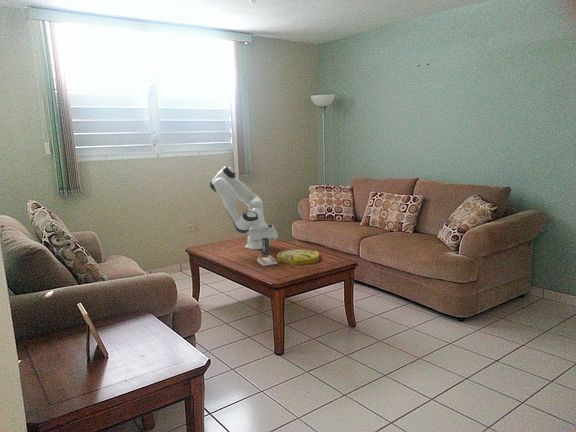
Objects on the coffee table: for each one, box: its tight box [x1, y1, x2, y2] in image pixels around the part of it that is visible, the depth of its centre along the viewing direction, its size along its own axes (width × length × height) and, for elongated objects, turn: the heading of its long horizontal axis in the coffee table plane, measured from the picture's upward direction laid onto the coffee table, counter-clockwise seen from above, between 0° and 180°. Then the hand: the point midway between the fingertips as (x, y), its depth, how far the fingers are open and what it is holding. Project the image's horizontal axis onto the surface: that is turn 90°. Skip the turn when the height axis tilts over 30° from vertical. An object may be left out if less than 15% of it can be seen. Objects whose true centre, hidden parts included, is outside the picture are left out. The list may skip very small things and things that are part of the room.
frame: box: [261, 238, 271, 257], centre depth 299 cm, size 6×4×11 cm
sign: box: [277, 249, 320, 266], centre depth 308 cm, size 28×3×30 cm
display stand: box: [256, 254, 278, 266], centre depth 301 cm, size 13×10×3 cm
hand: (266, 245), depth 298 cm, fingers closed on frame, 3 cm apart
